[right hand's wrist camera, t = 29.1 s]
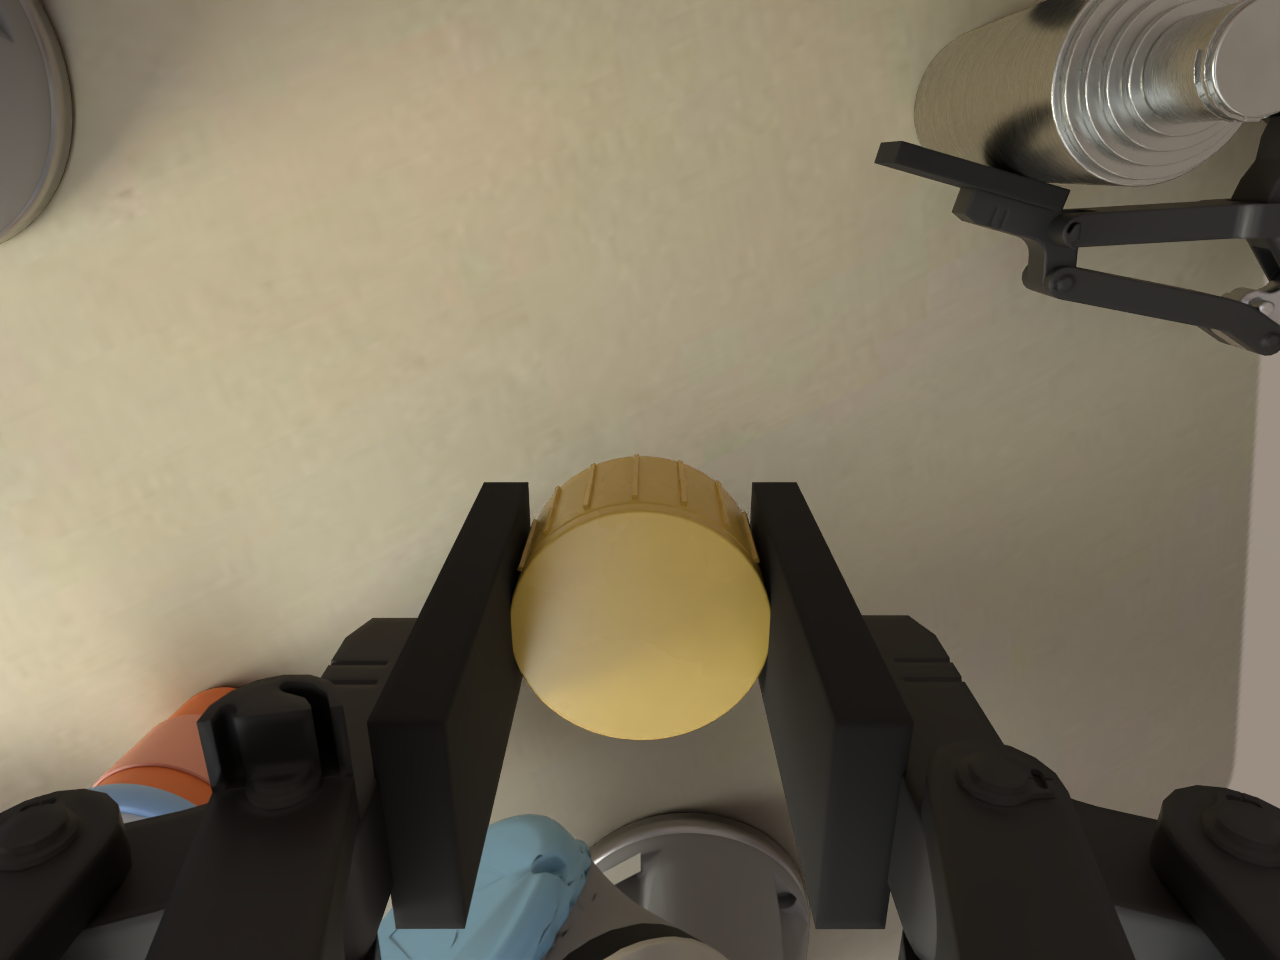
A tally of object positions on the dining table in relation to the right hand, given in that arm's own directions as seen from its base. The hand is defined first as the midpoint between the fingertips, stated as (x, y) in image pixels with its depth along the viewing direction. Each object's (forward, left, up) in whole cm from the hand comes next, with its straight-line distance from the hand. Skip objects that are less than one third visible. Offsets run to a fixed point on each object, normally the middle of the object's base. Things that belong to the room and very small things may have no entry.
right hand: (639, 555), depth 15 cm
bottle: (+13, -11, -27) cm, 32 cm away
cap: (0, 0, +2) cm, 2 cm away
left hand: (+13, -6, -20) cm, 25 cm away
